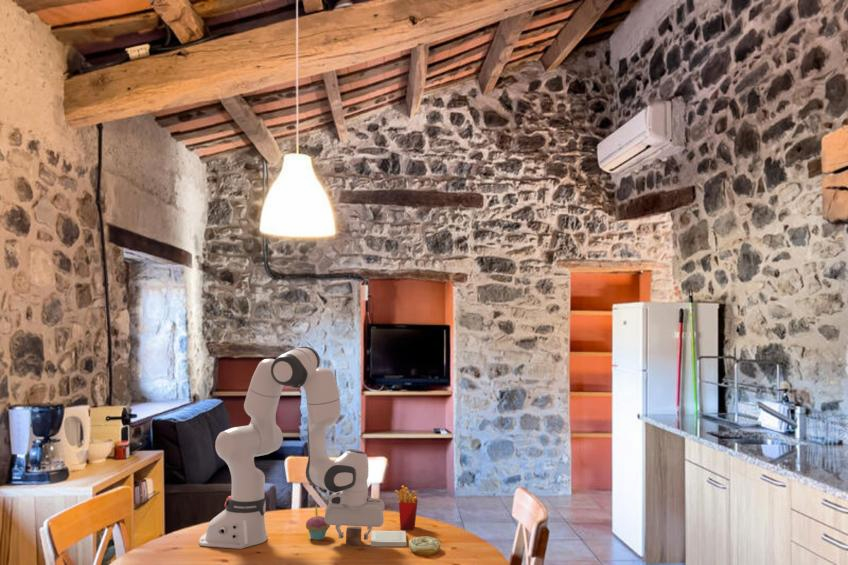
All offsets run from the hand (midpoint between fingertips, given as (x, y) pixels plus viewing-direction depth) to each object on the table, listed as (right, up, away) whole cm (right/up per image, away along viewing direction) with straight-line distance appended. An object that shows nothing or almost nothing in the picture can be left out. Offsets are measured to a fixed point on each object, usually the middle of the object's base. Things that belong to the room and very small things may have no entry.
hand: (353, 538), depth 225 cm
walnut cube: (0, -2, 0) cm, 2 cm away
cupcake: (-13, -2, +5) cm, 14 cm away
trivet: (+12, -2, +4) cm, 13 cm away
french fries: (+17, -3, +18) cm, 25 cm away
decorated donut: (+24, -2, -6) cm, 25 cm away
